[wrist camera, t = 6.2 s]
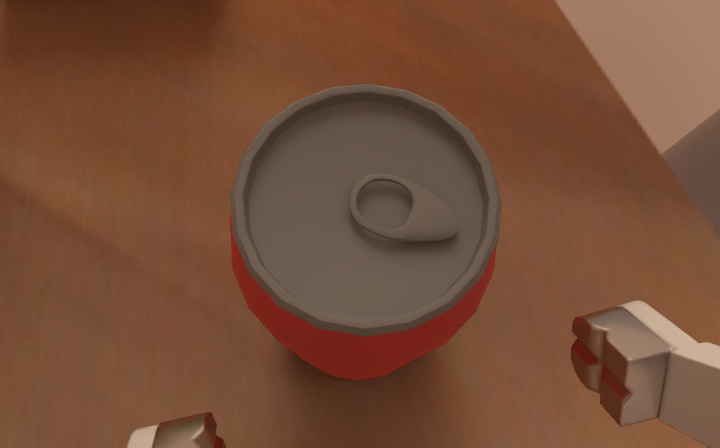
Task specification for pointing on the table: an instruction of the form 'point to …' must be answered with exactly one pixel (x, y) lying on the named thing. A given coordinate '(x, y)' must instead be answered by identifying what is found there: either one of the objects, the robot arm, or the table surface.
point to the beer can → (364, 228)
